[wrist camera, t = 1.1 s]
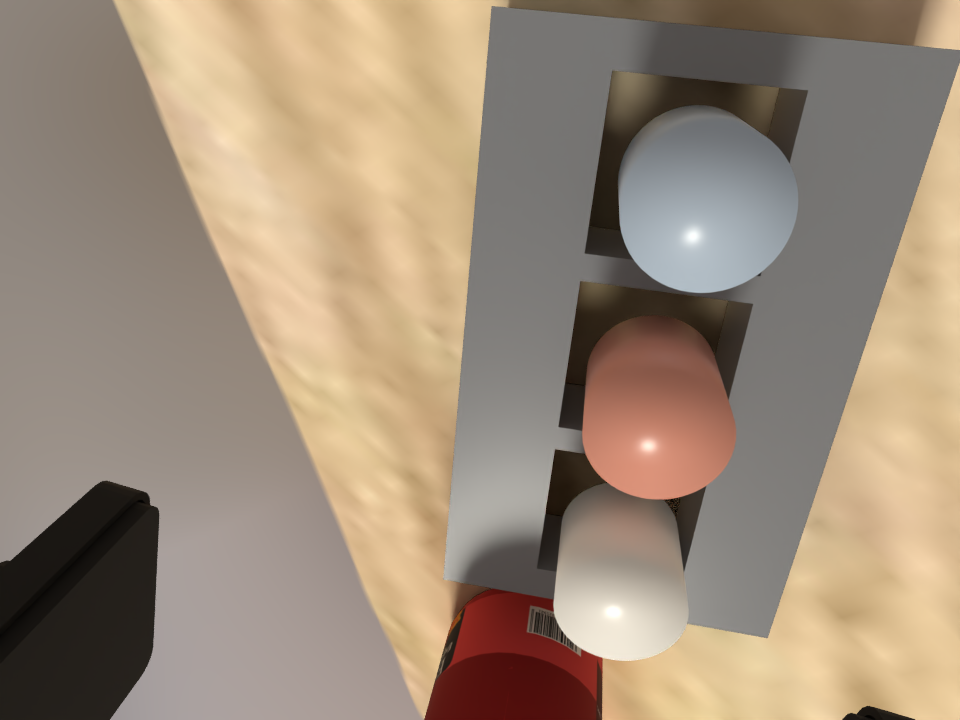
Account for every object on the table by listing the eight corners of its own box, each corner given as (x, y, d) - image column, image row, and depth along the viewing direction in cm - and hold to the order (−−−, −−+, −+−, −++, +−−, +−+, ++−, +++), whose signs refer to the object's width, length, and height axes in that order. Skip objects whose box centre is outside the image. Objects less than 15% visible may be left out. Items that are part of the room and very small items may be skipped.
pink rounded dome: (730, 324, 26) (752, 381, 22) (702, 439, 28) (717, 510, 23) (597, 306, 26) (594, 357, 22) (578, 420, 28) (572, 486, 24)
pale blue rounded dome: (782, 113, 23) (819, 131, 19) (746, 258, 25) (773, 303, 21) (631, 97, 23) (635, 112, 19) (607, 240, 25) (606, 281, 21)
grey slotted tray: (913, 47, 25) (963, 50, 22) (751, 575, 35) (767, 638, 31) (507, 9, 27) (491, 6, 23) (459, 524, 36) (443, 579, 33)
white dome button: (688, 493, 29) (701, 570, 24) (665, 585, 30) (674, 671, 26) (569, 473, 29) (562, 545, 25) (554, 566, 31) (545, 647, 27)
